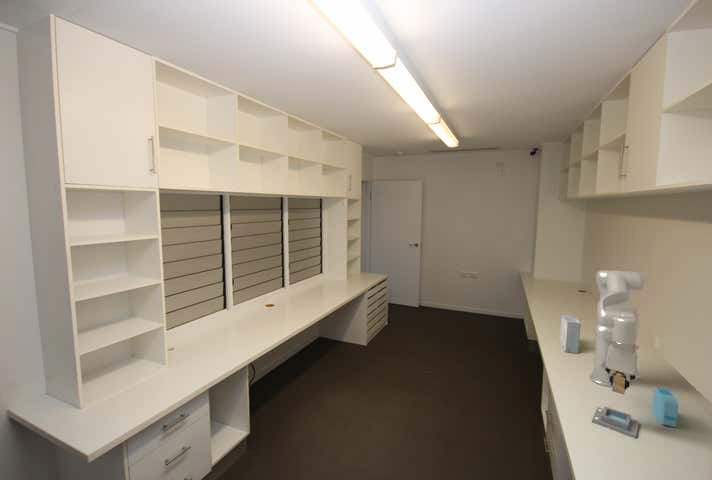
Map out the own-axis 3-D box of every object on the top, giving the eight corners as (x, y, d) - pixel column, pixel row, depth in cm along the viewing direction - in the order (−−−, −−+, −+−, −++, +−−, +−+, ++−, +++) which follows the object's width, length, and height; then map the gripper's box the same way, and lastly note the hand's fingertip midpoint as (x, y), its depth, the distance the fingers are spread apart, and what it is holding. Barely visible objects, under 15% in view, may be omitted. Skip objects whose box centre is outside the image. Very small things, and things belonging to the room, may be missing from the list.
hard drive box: (578, 354, 217) (581, 323, 215) (564, 352, 220) (567, 322, 217) (572, 344, 232) (574, 315, 230) (559, 342, 234) (561, 314, 232)
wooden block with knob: (613, 387, 151) (615, 369, 150) (624, 391, 148) (626, 372, 148) (612, 391, 148) (613, 372, 147) (623, 394, 146) (625, 375, 145)
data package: (676, 428, 147) (679, 402, 145) (662, 426, 148) (665, 399, 147) (664, 412, 157) (667, 388, 156) (651, 410, 159) (654, 386, 158)
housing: (597, 409, 160) (598, 402, 160) (639, 423, 150) (639, 416, 149) (591, 422, 151) (592, 414, 150) (635, 438, 140) (636, 430, 140)
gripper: (649, 348, 143) (644, 390, 145) (600, 337, 155) (597, 376, 157) (647, 354, 138) (643, 397, 140) (597, 342, 149) (593, 382, 151)
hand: (618, 385), depth 148 cm, fingers closed on wooden block with knob, 4 cm apart
